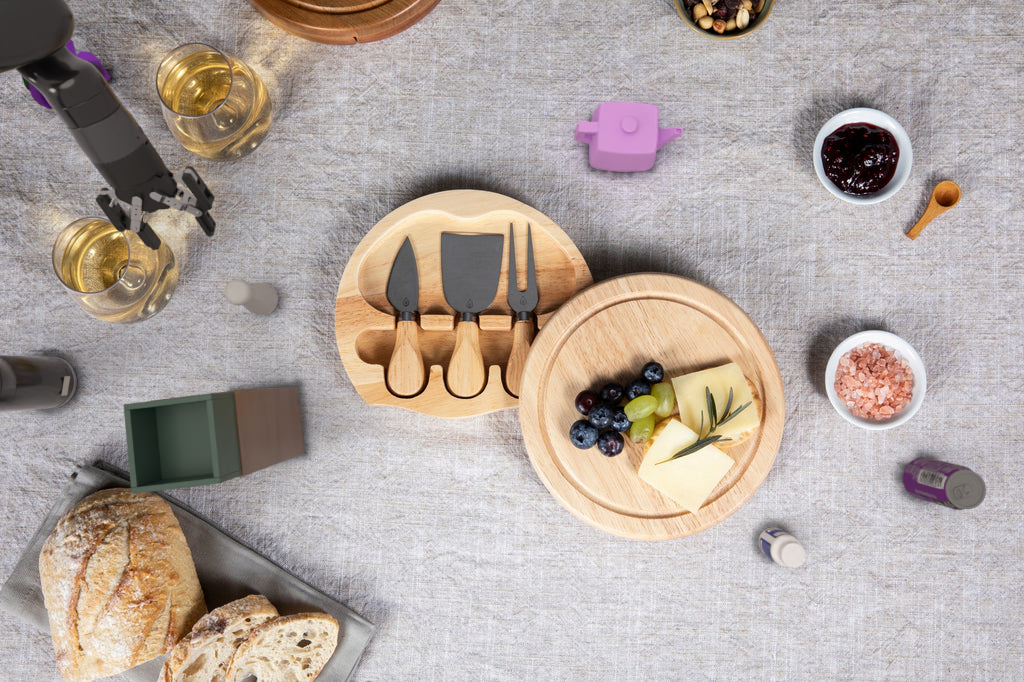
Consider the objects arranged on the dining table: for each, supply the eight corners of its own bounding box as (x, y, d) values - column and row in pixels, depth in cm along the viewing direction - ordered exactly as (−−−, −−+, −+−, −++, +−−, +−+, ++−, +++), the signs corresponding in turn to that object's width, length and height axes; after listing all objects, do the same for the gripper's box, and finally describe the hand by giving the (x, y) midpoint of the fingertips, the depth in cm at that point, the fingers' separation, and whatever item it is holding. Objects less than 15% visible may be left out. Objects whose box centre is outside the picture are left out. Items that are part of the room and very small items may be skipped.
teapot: (674, 118, 120) (688, 95, 109) (671, 176, 119) (685, 158, 109) (574, 114, 120) (579, 90, 110) (571, 171, 120) (575, 152, 109)
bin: (159, 485, 92) (131, 494, 86) (151, 402, 93) (123, 404, 86) (242, 475, 92) (220, 483, 85) (233, 391, 93) (211, 393, 86)
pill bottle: (778, 562, 116) (799, 578, 107) (752, 546, 116) (771, 561, 107) (793, 536, 116) (816, 550, 107) (768, 520, 116) (788, 533, 107)
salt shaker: (278, 319, 119) (248, 312, 106) (247, 313, 119) (213, 305, 106) (285, 287, 119) (256, 277, 106) (254, 281, 120) (221, 270, 107)
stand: (238, 461, 118) (158, 486, 92) (231, 394, 119) (149, 400, 93) (304, 453, 118) (243, 476, 92) (297, 386, 119) (234, 390, 93)
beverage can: (912, 505, 116) (957, 520, 104) (892, 468, 116) (935, 479, 104) (948, 486, 116) (997, 499, 104) (928, 449, 116) (975, 458, 104)
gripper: (55, 173, 85) (133, 267, 97) (160, 146, 84) (226, 244, 96) (74, 143, 90) (146, 235, 102) (173, 117, 89) (234, 213, 101)
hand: (185, 239), depth 99 cm, fingers open, 8 cm apart
